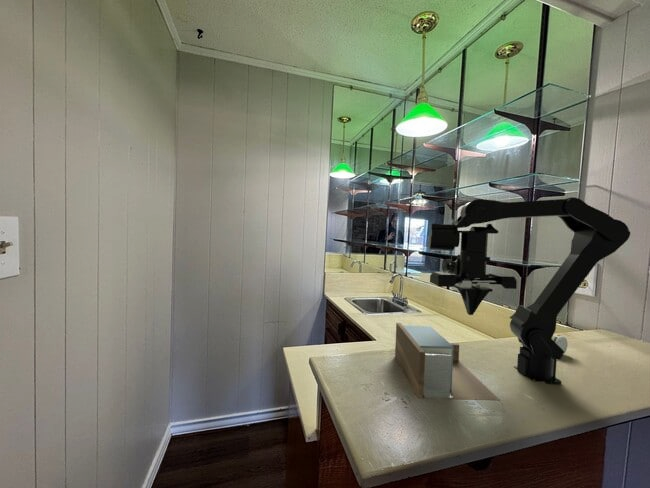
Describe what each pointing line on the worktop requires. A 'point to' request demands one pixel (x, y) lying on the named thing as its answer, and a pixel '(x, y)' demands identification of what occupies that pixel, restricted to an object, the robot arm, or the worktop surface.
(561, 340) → the supplement bottle
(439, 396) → the bookend
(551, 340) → the robot arm
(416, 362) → the shelf
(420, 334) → the light blue block
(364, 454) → the worktop surface
